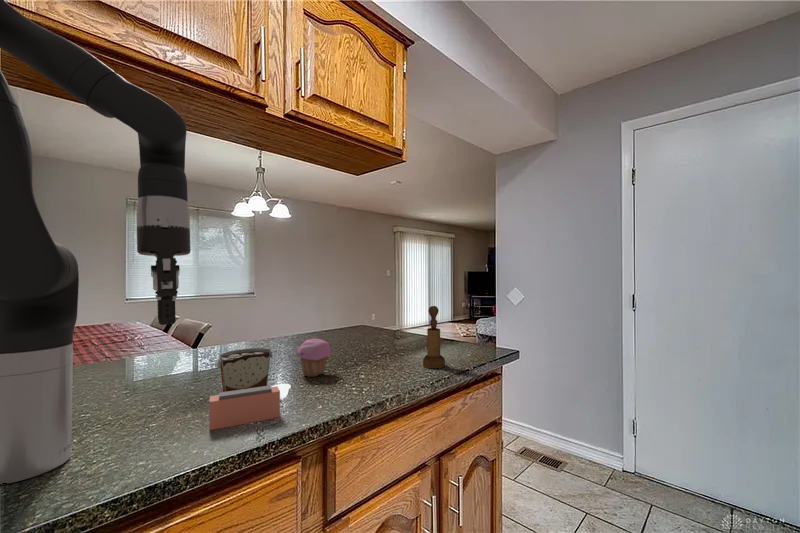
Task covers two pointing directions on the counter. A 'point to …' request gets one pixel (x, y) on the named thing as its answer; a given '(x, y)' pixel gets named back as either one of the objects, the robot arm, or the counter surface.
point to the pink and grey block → (244, 406)
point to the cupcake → (314, 356)
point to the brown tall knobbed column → (433, 343)
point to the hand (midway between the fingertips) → (166, 322)
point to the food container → (244, 368)
